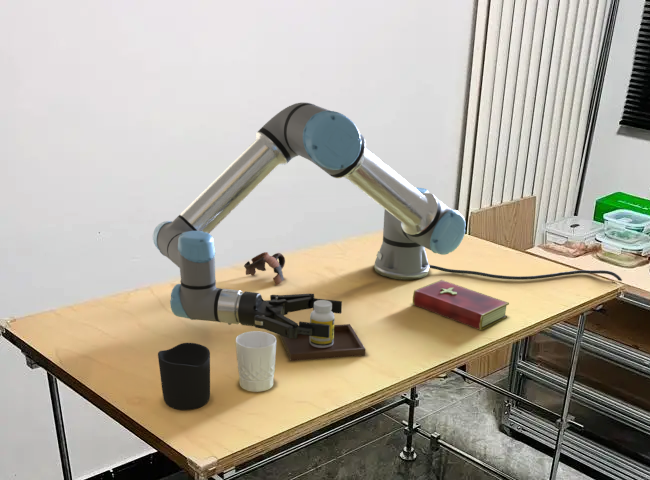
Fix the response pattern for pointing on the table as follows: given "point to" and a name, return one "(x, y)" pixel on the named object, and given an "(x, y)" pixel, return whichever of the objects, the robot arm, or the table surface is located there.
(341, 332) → the tray
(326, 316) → the supplement bottle
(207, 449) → the table surface
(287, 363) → the table surface
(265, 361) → the white cup
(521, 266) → the table surface
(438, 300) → the hardcover book
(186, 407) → the pen holder
